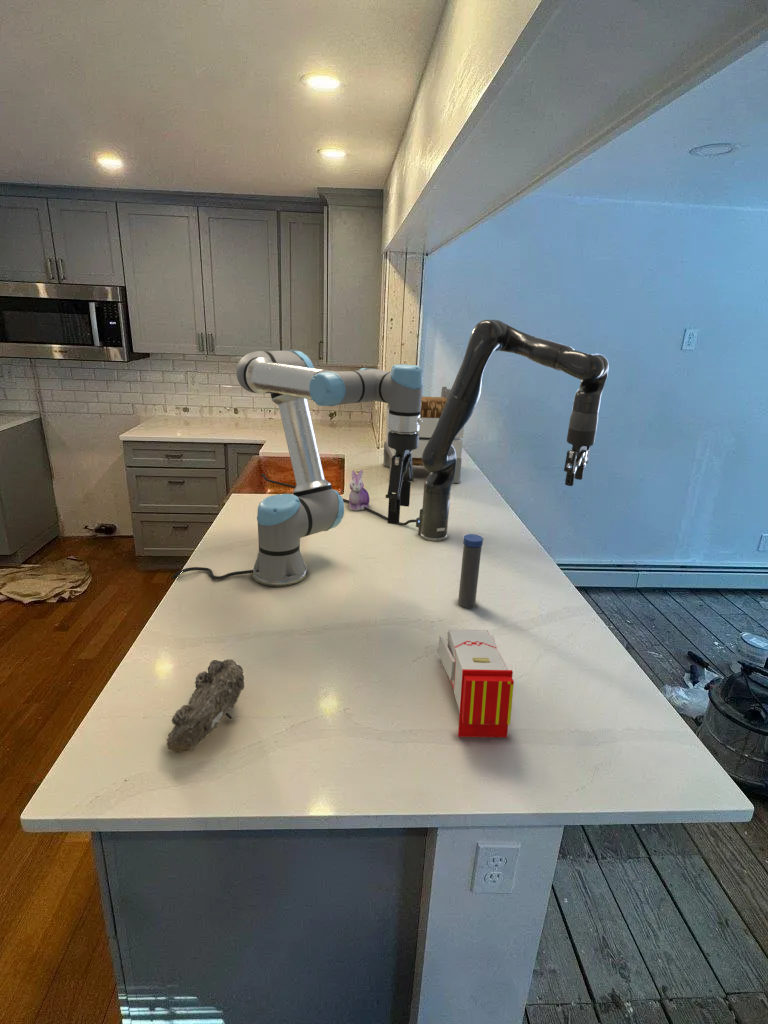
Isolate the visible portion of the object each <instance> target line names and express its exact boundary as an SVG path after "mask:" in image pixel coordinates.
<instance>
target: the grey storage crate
mask: <svg viewBox="0 0 768 1024" xmlns="http://www.w3.org/2000/svg"><path fill="white" fill-rule="evenodd" d="M450 391H451V388H447V386H442V387H441V392H440V393H441V394H440V396H422V399H421V410H420V411H421V413H420V417H419V419H422V420H423V421H422V423H420V426H419V431H417V432H418V434H419V445H418V448H417V449H414V450H412V467H415V466H416V467H417V466H418V467H424V466H423V464H422V454H423V451H424V449H425V447H426V445H427V444H428V442H429V440H430V438H431V436H432V434H433V432H434V430H435V428H436V426H437V423H438V421H439V418H440V416H441V413H442V411H443V408H444V406H445V403H446V400H447V398H448V395H449V393H450ZM385 414H386V415H385V423H386V428H385V438H384V442H383V466H384V467H388V468H389V475H388V476H389V477H388V478H389V479H390V473H391V465H392V457H393V455H395V453H396V450H395V449H392V448H390V447H388V432H389V431H390V430H389V429H388V420H389V403H387V405H386V413H385ZM464 429H465V425H464V426H463V428H462V429H461V430H460V431H459V433H458V434H457V435H456V437H455V438H454V440H453V442H452V444H451V445H452V446H453V447H454V449H455V451H456V468H455V476H454V481H453V483H452V484H455V483H456V484H459V483H461V472H462V461H463V460H462V453H463V442H464V441H463V440H462V439H463V438H464V431H465V430H464Z"/></svg>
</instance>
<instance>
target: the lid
mask: <svg viewBox="0 0 768 1024" xmlns="http://www.w3.org/2000/svg"><path fill="white" fill-rule="evenodd" d="M462 541H463V542H462V544H463V546H464V545H466V546H468V547H481V546H482V547H483V544H484V537H483V536H482V535H479V534H474V533H467V534H464V535H463V540H462ZM482 547H481V548H482Z"/></svg>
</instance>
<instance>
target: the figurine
mask: <svg viewBox="0 0 768 1024" xmlns="http://www.w3.org/2000/svg"><path fill="white" fill-rule="evenodd" d="M363 475H364V470H363V469H361V470H359V472H358V473H356V472H355V470H352V471H351V480H350V482H349V489H350V492H349V494H348V500H349V502H350V503H348V508H349V510H350V511H363V510H365V509H364V507H367V508H369V505H370V495H369V491H367V489H365V484H364V482H363Z"/></svg>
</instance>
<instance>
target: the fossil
mask: <svg viewBox="0 0 768 1024" xmlns="http://www.w3.org/2000/svg"><path fill="white" fill-rule="evenodd" d="M243 670H244V669H243V667H242V665H240V664H237V662H236V661H235V660H234V659H232V658H231V659H227V658H226V659H224V660H223V661H222V660H217V659H212V660H211V661H210V663H209V665H208V666H207V671H201V672H199V673H198V674H197V675H196V676H195V680H194V684H195V685H194V687H195V689H194V690H193V693H192V694H191V697H190V698H189V700H188V704H184V705H182V706H181V707H180V709H177V710H176V711H175V713H174V715H173V716H172V718H171V723H172V724H173V727H172V730H171V731H170V732H168V734H167V738H166V741H167V742H166V745H167V749H168V750H169V751H173V752H174V753H176V754H178V753H182V752H188V751H189V752H192V751H193V750H195V748H196V747H197V746H199V744H200V743H201V742H203V741H204V740H205V739H206V738H207V737H208V736H209V735H210V734H211V733H212V732H214V730H215V729H217V727H218V726H219V724H220V722H221V721H222V720H223V719H224V718H225V716H226V717H227V719H229V720H233V717H232V715H230V714H229V710H230V709H231V708H234V706H235V704H236V703H237V702H238V699H239V697H240V695H241V693H242V691H243V690H245V689H244V688H245V675H244V671H243Z"/></svg>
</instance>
